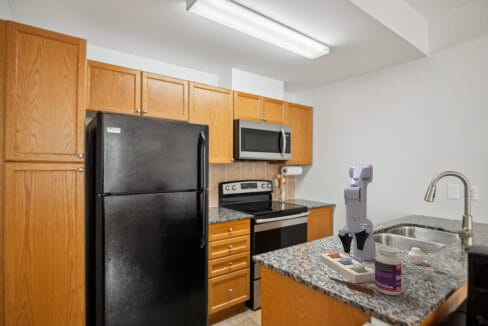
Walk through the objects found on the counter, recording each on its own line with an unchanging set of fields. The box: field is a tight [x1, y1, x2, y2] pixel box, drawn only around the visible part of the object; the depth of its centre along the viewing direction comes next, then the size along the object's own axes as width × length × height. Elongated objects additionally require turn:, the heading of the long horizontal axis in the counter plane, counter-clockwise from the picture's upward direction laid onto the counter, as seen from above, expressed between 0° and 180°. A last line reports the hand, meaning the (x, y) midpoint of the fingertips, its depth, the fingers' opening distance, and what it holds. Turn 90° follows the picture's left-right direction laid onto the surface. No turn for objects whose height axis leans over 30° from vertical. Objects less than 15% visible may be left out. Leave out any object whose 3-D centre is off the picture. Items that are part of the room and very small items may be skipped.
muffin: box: [407, 246, 426, 265], centre depth 115 cm, size 6×6×7 cm
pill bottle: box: [374, 246, 403, 296], centre depth 89 cm, size 8×8×14 cm
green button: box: [353, 263, 366, 273], centre depth 100 cm, size 4×4×2 cm
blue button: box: [340, 257, 353, 265], centre depth 108 cm, size 4×4×2 cm
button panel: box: [319, 252, 375, 284], centre depth 108 cm, size 10×24×3 cm, turn 15°
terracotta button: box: [328, 251, 341, 259], centre depth 115 cm, size 4×4×2 cm
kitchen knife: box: [329, 277, 375, 296], centre depth 91 cm, size 16×1×2 cm, turn 46°
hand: (353, 251), depth 101 cm, fingers open, 7 cm apart
